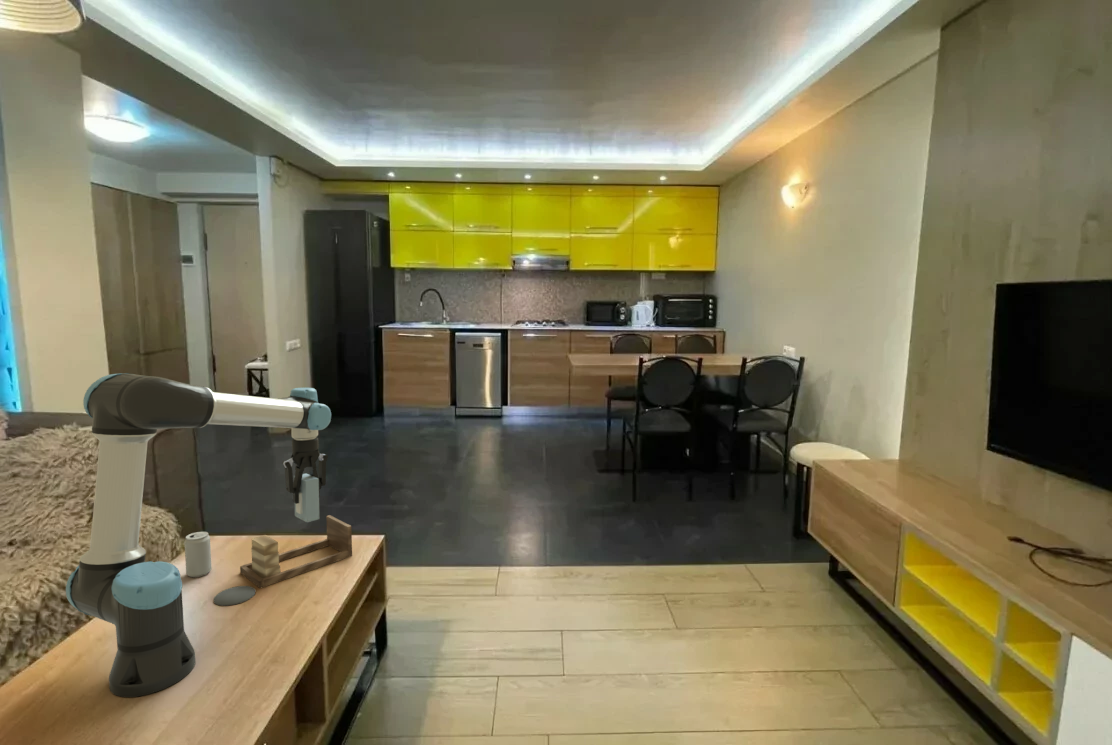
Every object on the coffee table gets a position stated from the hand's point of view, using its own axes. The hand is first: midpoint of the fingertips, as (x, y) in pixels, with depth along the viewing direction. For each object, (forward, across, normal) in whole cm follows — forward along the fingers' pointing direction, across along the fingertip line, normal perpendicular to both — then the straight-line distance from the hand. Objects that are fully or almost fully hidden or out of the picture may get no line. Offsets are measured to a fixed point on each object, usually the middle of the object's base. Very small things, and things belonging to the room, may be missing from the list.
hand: (306, 510), depth 172 cm
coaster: (+17, -24, -6) cm, 30 cm away
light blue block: (+2, 0, 0) cm, 2 cm away
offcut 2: (+13, -13, 0) cm, 18 cm away
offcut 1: (+9, -13, 0) cm, 15 cm away
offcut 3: (+17, -13, 0) cm, 21 cm away
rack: (+16, -3, 0) cm, 17 cm away
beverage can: (+17, -26, +16) cm, 34 cm away
